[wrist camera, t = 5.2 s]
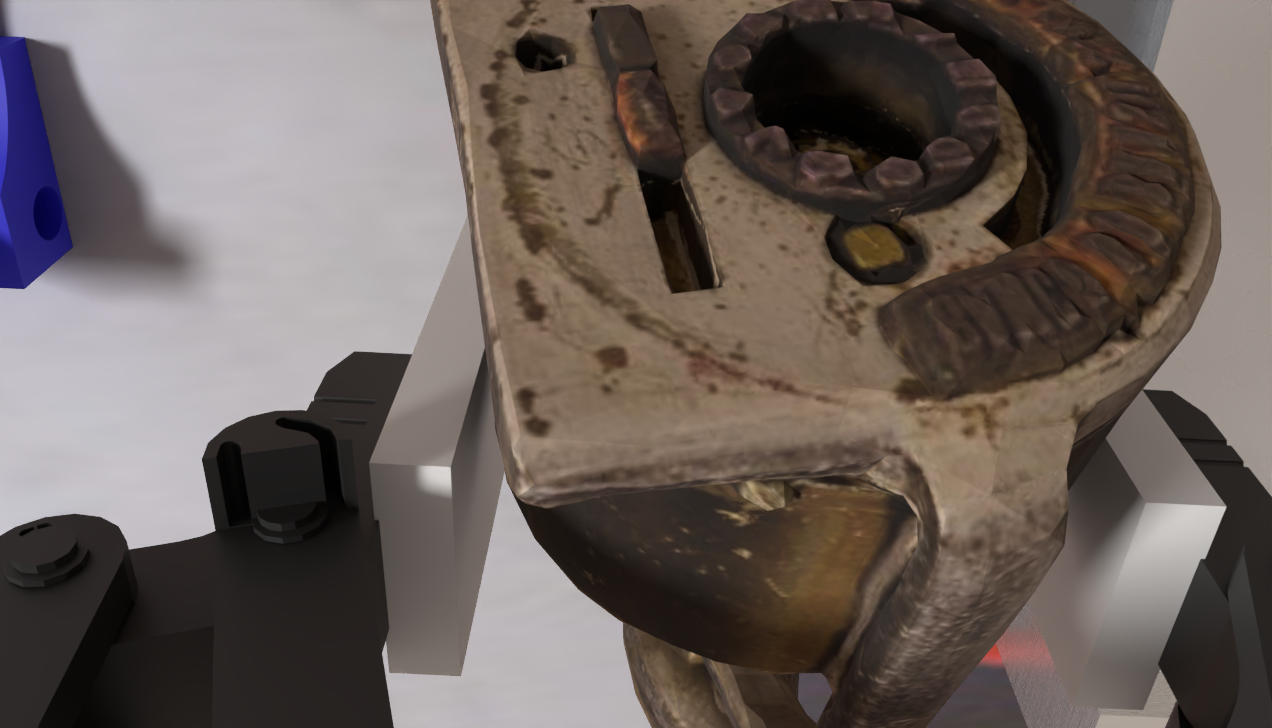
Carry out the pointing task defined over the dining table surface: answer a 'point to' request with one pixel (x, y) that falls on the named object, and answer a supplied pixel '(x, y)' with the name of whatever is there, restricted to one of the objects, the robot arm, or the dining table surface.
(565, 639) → the dining table surface
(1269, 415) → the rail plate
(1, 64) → the cable clip
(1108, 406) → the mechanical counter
